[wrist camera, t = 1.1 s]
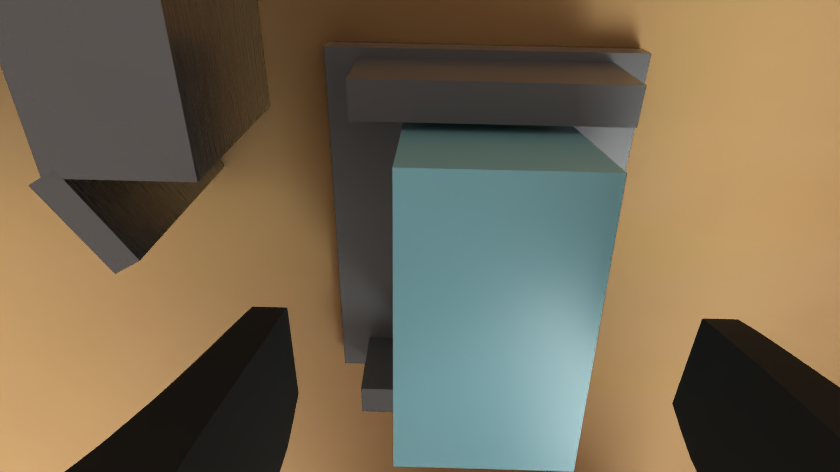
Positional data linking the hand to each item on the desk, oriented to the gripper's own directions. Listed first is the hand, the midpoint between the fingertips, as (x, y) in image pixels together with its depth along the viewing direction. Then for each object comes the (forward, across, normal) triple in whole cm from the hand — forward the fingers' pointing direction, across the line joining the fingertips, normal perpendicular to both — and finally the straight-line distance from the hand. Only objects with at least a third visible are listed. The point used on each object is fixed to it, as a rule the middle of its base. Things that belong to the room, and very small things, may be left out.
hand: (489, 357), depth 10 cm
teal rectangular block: (+4, 0, 0) cm, 4 cm away
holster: (+5, 0, 0) cm, 5 cm away
